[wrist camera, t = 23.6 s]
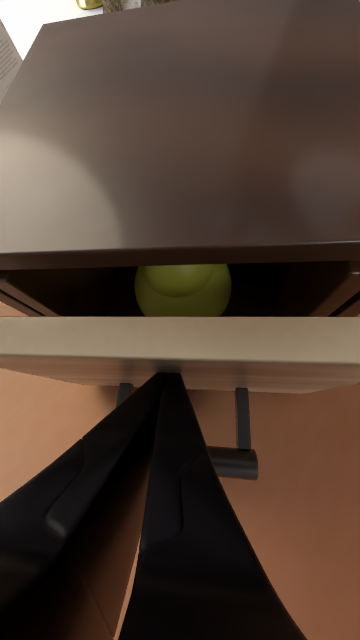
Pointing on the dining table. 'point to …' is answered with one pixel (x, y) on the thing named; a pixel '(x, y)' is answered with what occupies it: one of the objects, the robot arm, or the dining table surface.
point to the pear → (183, 290)
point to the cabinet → (185, 139)
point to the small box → (7, 61)
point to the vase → (89, 3)
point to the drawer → (191, 336)
